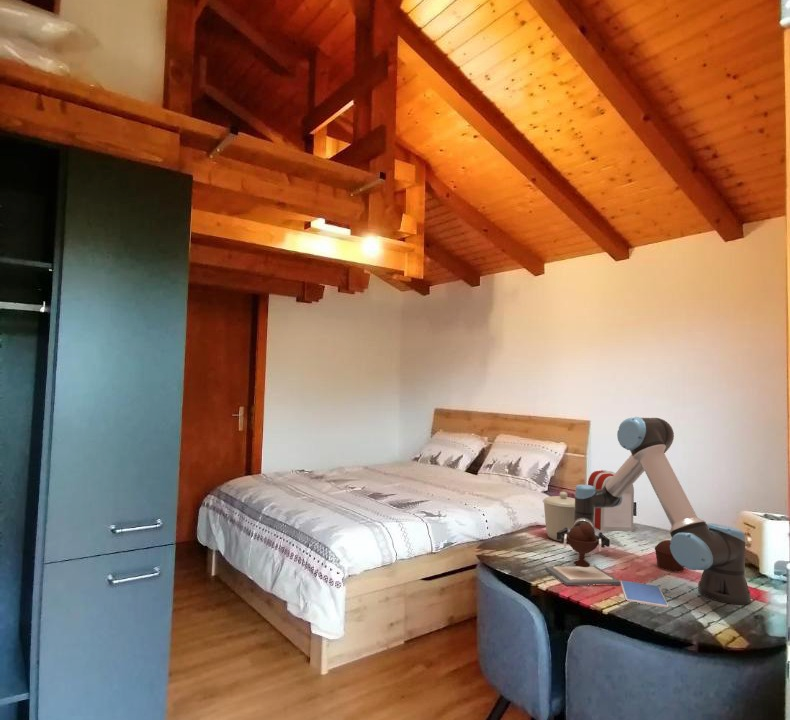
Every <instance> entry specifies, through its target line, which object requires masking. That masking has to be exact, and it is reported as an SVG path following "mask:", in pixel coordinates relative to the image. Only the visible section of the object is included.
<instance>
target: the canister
mask: <svg viewBox="0 0 790 720" xmlns="http://www.w3.org/2000/svg"><path fill="white" fill-rule="evenodd" d="M542 503H543V509H544V521H545V529H546V535H547V536H548V538H549V539H551V540H554V541H557V542H561V539H560V540H557V532H559V531H561V530H563V529H564V528H568V529H569V530H571V529H572V528H573V527H574V512H575V497H568V492H566V491H560V492H559V494H558V495H557V496H556V495H555V496H554V495H553V496H547V497H546V498H543V499H542ZM567 543H568V541H567Z"/></svg>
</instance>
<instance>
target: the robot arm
mask: <svg viewBox="0 0 790 720" xmlns="http://www.w3.org/2000/svg"><path fill="white" fill-rule="evenodd" d="M616 435H617V441H618V444H619V445H620V447H622V448H623V449H625V450H627V451H630V455H629V457H628V458H627V459H626V460H625V461H624V463H622V465H621V466H620V467H619V468H618V470H617V471H616V472H614V473H615V474H614V475H613V477H612V478H611V479H610V480H609V481H608V483H607V484H606V485H605V486H604V487H603V488H602V489H596V490H595V488H594V487H593V486H591V485H588V484H577V485H576V486H575V491H574V499H575V512H574V527H575V526H579V525H580V524H581V523H589V524H590V525H592V527H593V528H595V527H594V508H607V507H615V506H619V505H620V504H621V503H622V499H623V498H622V495H623V494H624V493H625V492H626V491H627V490H628V489H629V488H630V486H631V485H632V484H633V485H634V483H635V482H636V481H637V480H638V479H639V478H640V477H641V476H642V474H643V473H644V472H645V474H646V476H647V478H648V480H649V481H648V482H649V483H650V484H651V487H652V489H653V491H654V493H655V495H656V497H657V498H658V501H659V503H660V506H661V507H662V510H663V511H664V514H665V515H666V518H667V519H668V521H669V523H670V526H671V527H670V530H669V534H670V537H671V538H670V540H671V541H670V543H671V545H670V550H671V553H672V555H673V557H674V558H675V560H676V561H677V562H678V563H679V564H680V565H681V566H683V567H684V568H686V569H687V570H691V571H702V575H701V576H700V580H699V581H698V583H697V591H698V593H699V594H701V595H702V596H704V597H706V598H709V599H711V600H714V601H718V602H721V603H726V604H731V605H749V603H751V601H752V600H751V599H752V598H751V597H752V595H751V592H750V589H749V586H748V582H747V579H746V575H745V570H746V567H745V566H746V543H747V541H746V535H745V532H744V531H743V530H741V529H739V528H736V527H732V526H729V525H728V526H727V525H723V524H717V523H714V522H713V523H711V522H706V521H705V520H703V519H701V518H699V517H698V516H697V513H696V512H695V511H694V508H693V505H692V504H691V502H690V501H689V499H688V498H689V497H687V494H686V493H685V491H684V489H683V487H682V485H681V483H680V481H679V479H678V477H677V475H676V473H675V471H674V469H673V467H672V466H671V463H670V462H669V459H668V457H667V456H666V453H667V451H668V450H669V449H670V447H671V446H672V444H673V443H674V437H675V433H674V429H673V428H672V426H671V425H670V423H669V422H668V421H666V420H665V419H662V418H659V417H639V416H635V417H628V418H626V419H624V420H622V422H621V423H620V424H619V426H618V430H617V434H616ZM569 531H570V530H569V529H568V528H564V529H563V530H561V531H559V532H557V540H560V539H561V541H560V542H561V543H562V544H563V547H567V543H568V542H567V535H569ZM595 536H596V538H597V539H598V540H599V543H598V552H602V548H605V547H607V548H609V547H610V543H611V540H610V539H609V537H607V536H605V535H604V534H603V532H602V531H600V532H598V533H595ZM557 540H556V541H557Z"/></svg>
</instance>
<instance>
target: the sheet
mask: <svg viewBox="0 0 790 720" xmlns="http://www.w3.org/2000/svg"><path fill="white" fill-rule="evenodd" d="M567 566H568V565H567ZM567 566H552V567H553V569H555V570H556V571H557V572H559V573H560V574H561V575H563V576H564V577H566V578H567V579H568V580H570V581H593V580H613V579H612V578H611V577H609V576H608V575H606V574H605V573H603V572H601V571H600V570H598V569H597V568H595V567H593V566H594V565H590V566H589V567H579V566H576V565H574V566H573V565H572V566H568V567H567Z"/></svg>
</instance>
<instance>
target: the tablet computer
mask: <svg viewBox="0 0 790 720" xmlns="http://www.w3.org/2000/svg"><path fill="white" fill-rule="evenodd" d="M619 581H620V582H621V583H620V586H621V589H622V592H623V595H624V599H626V600H627V601H626V600H625V601H626V602H628V601H631V602H630V603H632V602H637V603H636V604H638V603H640V604H641V605H645V604H646V605H645V606H651V605H652V606H653V607H659V608H669V607H670V606H669V604H668V602H667V600H666V598H665V596H664V594H663V592H662V589H661V587H660V586H658V585H655V584H654V585H653V584H646V583H642V582H641V583H640V582H634V581H626V580H619Z"/></svg>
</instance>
